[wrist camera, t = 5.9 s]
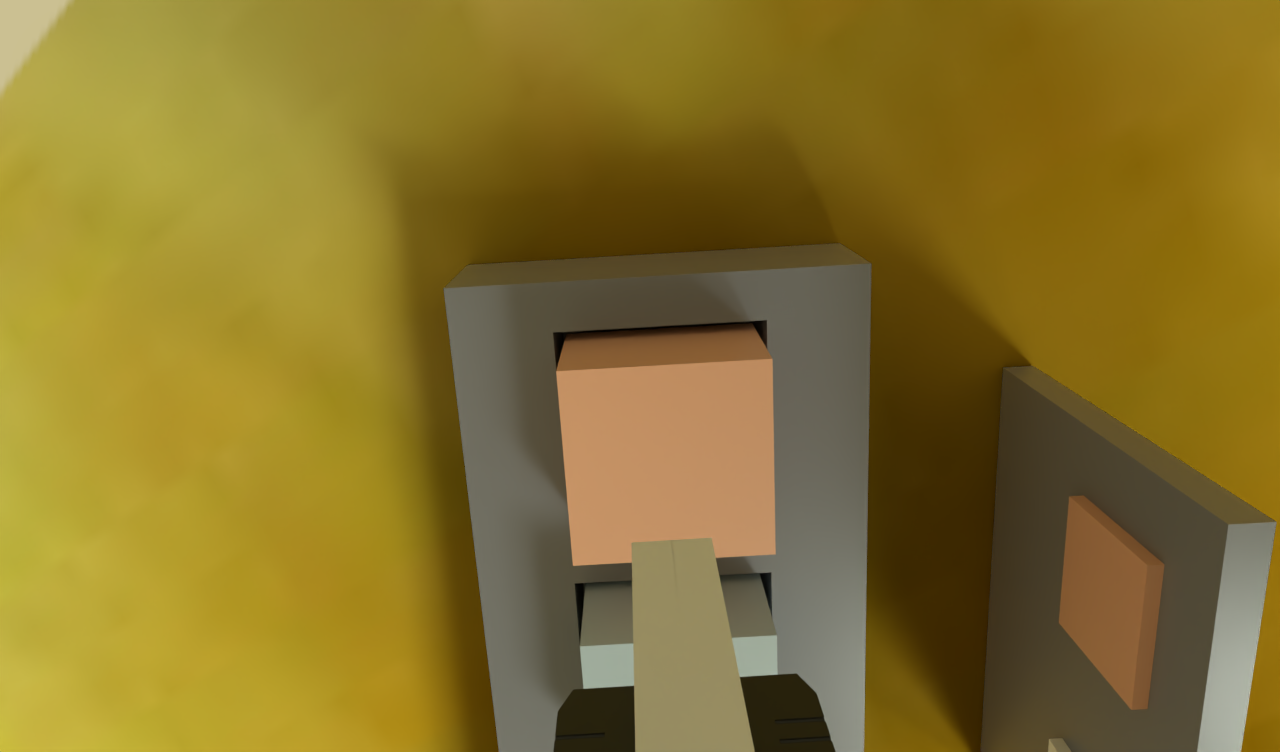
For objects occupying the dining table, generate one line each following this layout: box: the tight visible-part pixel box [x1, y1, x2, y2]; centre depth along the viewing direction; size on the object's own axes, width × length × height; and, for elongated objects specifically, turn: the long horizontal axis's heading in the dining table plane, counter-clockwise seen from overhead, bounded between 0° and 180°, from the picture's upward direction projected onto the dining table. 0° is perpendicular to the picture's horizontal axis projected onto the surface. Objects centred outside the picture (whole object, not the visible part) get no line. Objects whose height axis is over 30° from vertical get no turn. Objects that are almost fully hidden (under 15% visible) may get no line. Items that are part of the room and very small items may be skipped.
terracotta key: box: [556, 323, 776, 566], centre depth 26 cm, size 6×6×4 cm
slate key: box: [580, 573, 778, 689], centre depth 28 cm, size 6×6×4 cm
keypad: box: [444, 243, 1276, 752], centre depth 27 cm, size 25×18×12 cm
